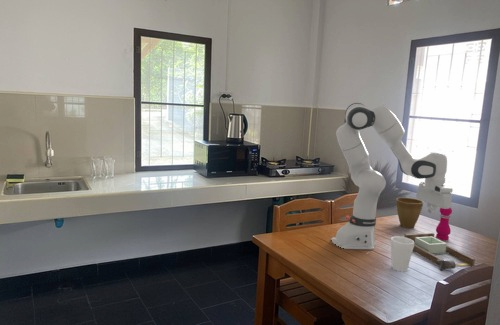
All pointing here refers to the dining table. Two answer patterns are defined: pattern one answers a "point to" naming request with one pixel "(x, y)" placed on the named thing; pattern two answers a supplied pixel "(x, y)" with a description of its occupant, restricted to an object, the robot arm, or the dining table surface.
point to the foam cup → (401, 252)
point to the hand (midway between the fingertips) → (431, 212)
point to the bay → (440, 262)
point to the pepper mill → (444, 224)
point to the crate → (431, 245)
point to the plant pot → (408, 211)
